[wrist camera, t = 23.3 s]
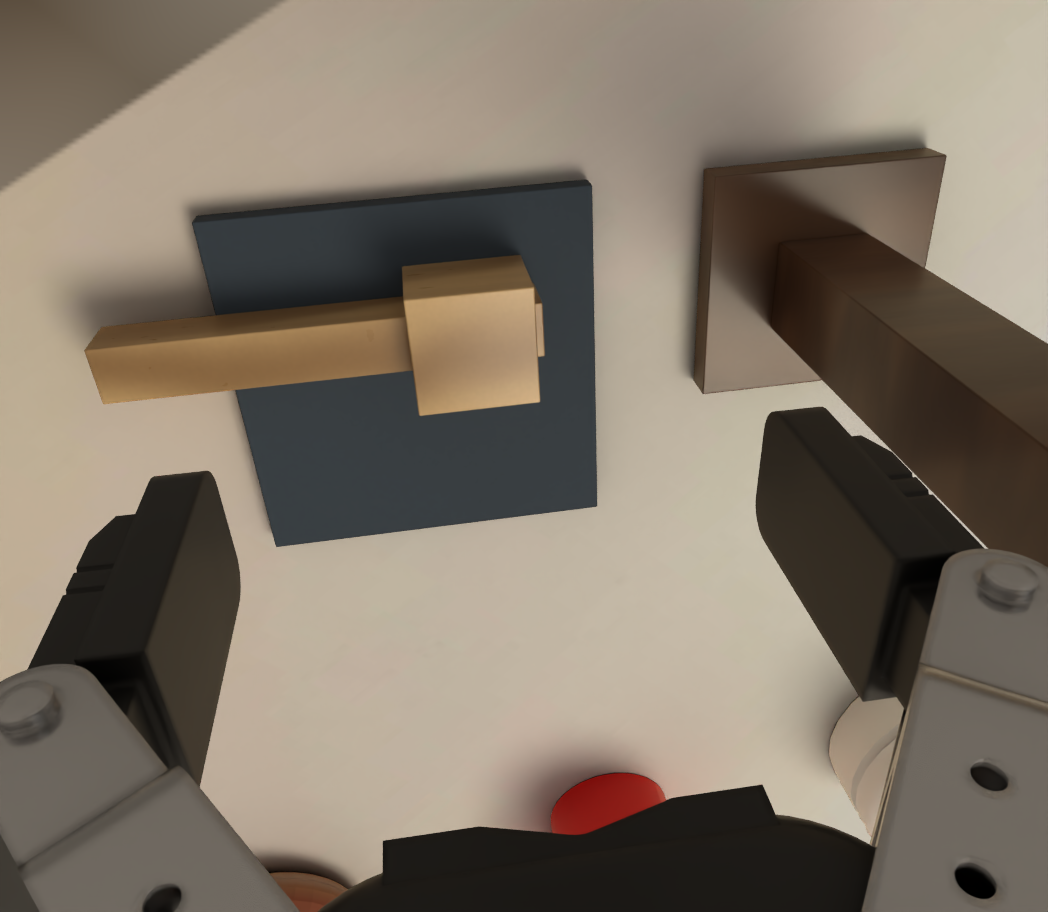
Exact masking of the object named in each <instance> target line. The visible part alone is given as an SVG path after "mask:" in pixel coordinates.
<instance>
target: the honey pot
mask: <svg viewBox="0 0 1048 912" xmlns="http://www.w3.org/2000/svg"><path fill="white" fill-rule="evenodd" d="M903 709H904V708H903V706H902V705H901V703H900V702H899V700H898V699H897V697H894V698H887V699H880V700H873V701H865V702H863V701H862V700H861V698H860V697H858V698H857V699H856V700H855V701H853V702H852V703H851V705H850V706H849V707H848V708H847V710H846V711H845V712H844V714H843V715H842V716H841V717H840V719H839V720H838V722H837V724H836V726H835V729H834V731H833V733H832V736H831V738H830V747H829V757H830V760H831V763H832V766H833V769H834V771H835V773H836V775H837V777H838V779H839V780H840V782H841V784H842V786H843V788H844V790H845V792H846V793H847V795H848V797H849V799H850V801H851V803H852V805H853V806H854V808H855V810H856V811H857V812H858V814H859V817H860V819H861V820H862V821H863V822H864V823H865V826H866V830H867V832H868V833H869V835H870V836H872V833H873V829H874V825H875V821H876V816H877V812H878V808H879V804H880V800H881V796H882V792H883V788H884V784H885V780H886V776H887V772H888V768H889V764H890V760H891V756H892V752H893V748H894V744H895V740H896V736H897V732H898V728H899V724H900V720H901V717H902V713H903Z"/></svg>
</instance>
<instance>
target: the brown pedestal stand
mask: <svg viewBox="0 0 1048 912" xmlns="http://www.w3.org/2000/svg"><path fill="white" fill-rule="evenodd" d="M945 161H946V155H944V154H942V153H939V152H937V151H934V150H932V149H929V148H922V149H911V150H900V151H889V152H879V153H868V154H857V155H846V156H836V157H825V158H814V159H803V160H793V161H782V162H771V163H760V164H750V165H739V166H728V167H717V168H707V169H704V182H703V202H702V222H701V242H700V262H699V282H698V302H697V321H696V341H695V361H694V382H695V383H696V385H697V386H698V387H699V389H700V390H701V392H702V393H703V394H708V393H716V392H725V391H734V390H742V389H751V388H760V387H768V386H777V385H785V384H794V383H803V382H811V381H820V380H823V381H824V382H825V383H826V384H827V385H828V386H829V387H830V388H831V389H832V390H833V391H834V392H835V393H836V394H837V395H838V396H839V397H840V399H841V400H842V401H843V402H844V403H845V404H846V405H847V406H848V407H849V408H850V409H851V410H852V411H853V412H854V413H855V414H856V415H857V416H858V417H859V418H860V419H861V420H862V421H863V422H864V423H865V424H866V425H867V426H868V427H869V428H870V429H871V430H872V431H873V432H874V433H875V434H876V435H877V436H878V437H879V438H880V439H881V440H882V441H883V442H884V443H885V444H886V445H887V446H888V447H889V448H890V449H891V450H892V451H893V452H894V453H895V454H896V455H897V456H898V457H899V458H900V459H901V460H902V461H903V462H904V463H905V464H906V465H907V467H908V468H909V469H910V470H911V471H912V472H913V473H914V474H915V475H916V476H917V477H918V478H919V479H920V480H921V481H922V482H923V483H924V484H925V485H926V486H927V487H928V488H929V489H930V490H931V491H932V492H933V493H934V494H935V495H936V496H937V497H938V498H939V499H940V500H941V501H942V502H943V503H944V504H945V505H946V506H947V507H948V508H949V509H950V510H951V511H952V512H953V513H954V514H955V515H956V516H957V517H958V518H959V519H960V520H961V521H962V522H963V523H964V524H965V525H966V526H967V527H968V528H969V529H970V530H971V531H972V532H973V533H974V534H975V536H976V537H977V538H978V539H979V540H980V541H981V542H982V543H983V544H984V545H985V546H986V547H987V548H988V549H996V550H1003V551H1008V552H1012V553H1016V554H1019V555H1023V556H1025V557H1028V558H1030V559H1033V560H1035V561H1037V562H1039V563H1041V564H1043V565H1045V566H1046V567H1048V344H1047V343H1046V342H1044V341H1042V340H1041V339H1039V338H1037V337H1036V336H1034V335H1033V334H1031V333H1029V332H1028V331H1026V330H1024V329H1023V328H1021V327H1020V326H1018V325H1016V324H1015V323H1013V322H1011V321H1010V320H1008V319H1007V318H1005V317H1003V316H1002V315H1000V314H998V313H997V312H995V311H993V310H992V309H990V308H989V307H987V306H985V305H984V304H982V303H980V302H979V301H977V300H976V299H974V298H972V297H971V296H969V295H967V294H966V293H964V292H963V291H961V290H959V289H958V288H956V287H954V286H953V285H951V284H949V283H948V282H946V281H945V280H943V279H941V278H940V277H938V276H936V275H935V274H933V273H932V272H930V271H928V270H927V269H925V266H926V260H927V255H928V250H929V245H930V239H931V234H932V229H933V224H934V219H935V213H936V208H937V203H938V198H939V192H940V187H941V182H942V177H943V172H944V166H945Z"/></svg>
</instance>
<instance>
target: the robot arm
mask: <svg viewBox="0 0 1048 912" xmlns="http://www.w3.org/2000/svg"><path fill="white" fill-rule="evenodd" d="M756 516H757V522H758V526H759V530H760V533H761V535H762V538H763V540H764V542H765V543H766V545H767V546H768V548H769V550H770V551H771V553H772V555H773V556H774V558H775V560H776V561H777V563H778V564H779V566H780V568H781V569H782V571H783V573H784V574H785V576H786V577H787V579H788V581H789V582H790V584H791V586H792V587H793V589H794V591H795V592H796V594H797V595H798V597H799V599H800V600H801V602H802V604H803V605H804V607H805V608H806V610H807V612H808V613H809V615H810V617H811V618H812V620H813V622H814V623H815V625H816V626H817V628H818V630H819V631H820V633H821V635H822V636H823V638H824V639H825V641H826V643H827V644H828V646H829V648H830V649H831V651H832V653H833V654H834V656H835V657H836V659H837V661H838V662H839V664H840V666H841V667H842V669H843V670H844V672H845V674H846V675H847V677H848V679H849V680H850V682H851V683H852V685H853V687H854V688H855V690H856V692H857V693H858V695H859V697H860V698H861V700H862V701H863V702H865V701H873V700H880V699H887V698H894V697H897V699H898V700H899V702H900V703H901V705H902V706H903V708H904V709H903V713H902V717H901V720H900V724H899V728H898V732H897V736H896V740H895V744H894V748H893V752H892V756H891V760H890V764H889V768H888V772H887V776H886V780H885V784H884V788H883V792H882V796H881V800H880V804H879V808H878V812H877V816H876V821H875V825H874V829H873V833H872V836H871V840H870V844H867V843H866V842H864V841H862V840H860V839H858V838H856V837H854V836H852V835H849V834H847V833H844V832H842V831H840V830H837V829H835V828H832V827H829V826H826V825H823V824H820V823H816V822H813V821H810V820H805V819H800V818H795V817H790V816H784V815H775V812H774V810H773V808H772V806H771V803H770V801H769V799H768V796H767V794H766V792H765V790H764V787H763V785H757V786H750V787H743V788H737V789H730V790H723V791H716V792H710V793H703V794H696V795H689V796H683V797H676V798H671V799H669V800H666V801H664V802H661V803H659V804H657V805H654V806H652V807H649V808H647V809H645V810H642V811H640V812H637V813H635V814H632V815H630V816H628V817H625V818H623V819H620V820H618V821H616V822H613V823H611V824H608V825H606V826H604V827H601V828H599V829H596V830H594V831H592V832H588V833H585V834H579V835H569V834H557V833H546V832H534V831H523V830H512V829H500V828H489V827H473V828H467V829H460V830H453V831H446V832H440V833H433V834H426V835H419V836H413V837H406V838H399V839H392V840H386V841H383V873H381V874H379V875H376V876H374V877H372V878H369V879H367V880H365V881H363V882H361V883H359V884H358V885H356V886H354V887H352V888H350V889H348V890H347V891H345V892H343V893H342V894H340V895H339V896H338V897H336V898H335V899H333V900H332V901H330V902H329V903H328V904H326V905H325V906H323V907H322V908H321V909H320V910H319V911H317V912H1048V567H1046V566H1045V565H1043V564H1041V563H1039V562H1037V561H1035V560H1033V559H1030V558H1028V557H1025V556H1023V555H1019V554H1016V553H1012V552H1008V551H1003V550H996V549H984V548H983V547H982V546H981V544H980V543H979V542H978V541H977V540H976V539H975V538H974V537H973V536H972V535H971V534H970V533H969V532H968V531H967V530H966V529H965V528H964V527H963V526H962V525H961V524H960V523H959V522H958V520H957V519H956V518H955V517H954V516H953V515H952V514H951V513H950V512H949V511H948V510H947V509H946V508H945V507H944V506H943V505H942V504H941V503H940V502H939V501H938V500H937V499H936V498H935V496H934V495H929V493H928V489H927V488H926V487H925V486H924V485H923V484H922V483H921V482H920V481H919V480H918V479H917V478H916V477H912V472H911V471H910V470H909V469H908V468H907V467H906V466H905V465H904V464H903V463H902V462H901V461H900V460H899V459H898V458H897V457H896V456H895V455H894V454H893V453H892V452H891V451H889V450H887V449H885V448H883V447H882V446H880V445H878V444H876V443H874V442H872V441H871V440H869V439H867V438H865V437H863V436H861V435H860V436H851V435H850V434H849V433H848V432H847V431H846V430H845V429H844V428H843V427H842V425H841V424H840V423H839V422H838V421H837V420H836V419H835V418H834V417H833V416H832V414H831V413H830V412H829V411H828V410H827V409H826V408H824V407H813V408H803V409H794V410H785V411H775V412H771V413H770V414H769V416H768V417H767V420H766V423H765V428H764V436H763V444H762V452H761V460H760V469H759V477H758V485H757V493H756ZM76 568H77V573H74V574H73V576H72V578H71V580H70V582H69V584H68V586H67V588H66V595H63V597H62V599H61V601H60V603H59V605H58V607H57V609H56V611H55V613H54V615H53V617H52V619H51V621H50V624H49V626H48V628H47V630H46V632H45V634H44V636H43V638H42V640H41V642H40V644H39V646H38V649H37V651H36V653H35V655H34V657H33V659H32V661H31V663H30V665H29V667H28V669H27V670H25V671H23V672H20V673H17V674H15V675H13V676H11V677H9V678H7V679H5V680H3V681H1V682H0V912H300V911H299V909H298V908H297V907H296V906H295V905H294V903H293V902H292V901H291V900H290V898H289V897H288V896H287V895H286V893H285V892H284V891H283V890H282V889H281V887H280V886H279V885H278V884H277V882H276V881H275V880H274V879H273V877H272V876H271V875H270V874H269V872H268V871H267V870H266V869H265V868H264V866H263V865H262V864H261V863H260V861H259V860H258V859H257V858H256V856H255V855H254V854H253V853H252V852H251V850H250V849H249V848H248V847H247V845H246V844H245V843H244V842H243V840H242V839H241V838H240V837H239V835H238V834H237V833H236V832H235V831H234V829H233V828H232V827H231V826H230V824H229V823H228V822H227V821H226V819H225V818H224V817H223V816H222V815H221V813H220V812H219V811H218V810H217V808H216V807H215V806H214V805H213V803H212V802H211V801H210V800H209V798H208V797H207V796H206V795H205V794H204V792H203V791H202V790H201V789H200V783H201V778H202V774H203V769H204V764H205V760H206V755H207V750H208V746H209V741H210V736H211V732H212V727H213V723H214V718H215V713H216V709H217V704H218V699H219V695H220V690H221V685H222V681H223V676H224V672H225V667H226V662H227V658H228V653H229V648H230V644H231V639H232V634H233V630H234V625H235V620H236V616H237V611H238V607H239V601H240V571H239V564H238V559H237V555H236V552H235V548H234V545H233V541H232V537H231V534H230V530H229V527H228V523H227V520H226V516H225V512H224V509H223V505H222V502H221V498H220V495H219V491H218V487H217V484H216V481H215V479H214V477H213V475H212V474H211V472H209V471H201V472H191V473H182V474H173V475H163V476H154V477H152V478H151V479H150V481H149V483H148V486H147V488H146V490H145V493H144V495H143V497H142V500H141V502H140V504H139V507H138V509H137V511H136V514H132V515H123V516H116V517H115V518H114V519H113V520H111V521H110V522H109V523H108V524H107V525H106V526H105V527H104V528H103V529H102V530H101V531H100V532H98V533H97V534H96V535H95V536H94V537H93V538H92V539H91V540H90V541H89V542H88V544H87V547H86V549H85V551H84V553H83V555H82V557H81V559H80V561H79V563H78V565H77V567H76Z"/></svg>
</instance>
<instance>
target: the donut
mask: <svg viewBox="0 0 1048 912" xmlns="http://www.w3.org/2000/svg"><path fill="white" fill-rule="evenodd" d="M269 874H270V875H271V876H272V877H273V879H274V880H275V881H276V882H277V884H278V885H279V886H280V887H281V889H282V890H283V891H284V892H285V893H286V895H287V896H288V897H289V898H290V900H291V901H292V902H293V903H294V905H295V906H296V907H297V908H298V909H299V911H300V912H317V911H319V910H320V909H321V908H322V907H323V906H325V905H326V904H328V903H329V902H330V901H332V900H333V899H335V898H336V897H338V896H339V895H340V894H342V893H343V892H345V891H347V890H348V889H346V888H345V887H343V886H342V885H341V884H339V883H336V882H334V881H332V880H330V879H327V878H324V877H320V876H316V875H312V874H305V873H297V872H277V873H269Z"/></svg>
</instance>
